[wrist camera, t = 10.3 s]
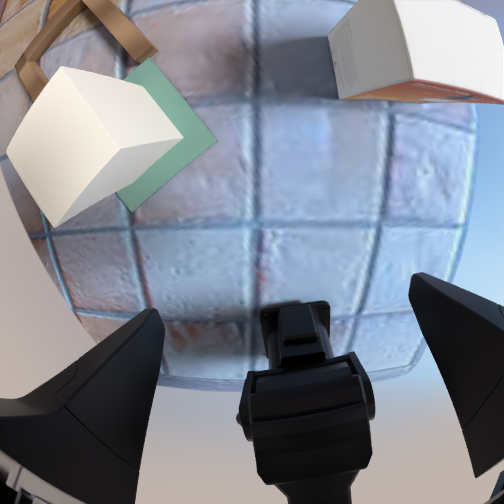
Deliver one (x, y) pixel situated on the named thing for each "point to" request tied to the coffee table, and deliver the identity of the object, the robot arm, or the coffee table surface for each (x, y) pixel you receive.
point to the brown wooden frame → (60, 20)
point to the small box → (418, 53)
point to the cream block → (87, 141)
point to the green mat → (186, 124)
